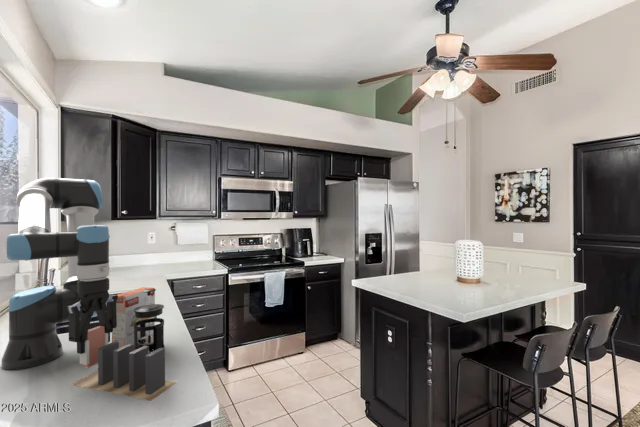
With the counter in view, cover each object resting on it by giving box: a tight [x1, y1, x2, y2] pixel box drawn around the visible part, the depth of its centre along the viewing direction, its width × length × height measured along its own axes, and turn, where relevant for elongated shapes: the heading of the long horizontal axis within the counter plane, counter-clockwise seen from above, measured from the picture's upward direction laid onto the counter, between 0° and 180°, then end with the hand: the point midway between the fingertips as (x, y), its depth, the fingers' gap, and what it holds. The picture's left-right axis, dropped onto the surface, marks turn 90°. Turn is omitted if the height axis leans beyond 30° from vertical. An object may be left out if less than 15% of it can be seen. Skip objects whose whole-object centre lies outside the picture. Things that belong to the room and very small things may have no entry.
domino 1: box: [97, 341, 119, 385], centre depth 89 cm, size 2×5×10 cm, turn 163°
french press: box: [134, 288, 165, 352], centre depth 105 cm, size 12×9×23 cm
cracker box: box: [111, 286, 156, 348], centre depth 112 cm, size 14×6×21 cm, turn 168°
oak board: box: [70, 370, 178, 402], centre depth 88 cm, size 28×9×1 cm, turn 73°
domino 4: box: [145, 347, 166, 395], centre depth 85 cm, size 2×5×10 cm, turn 163°
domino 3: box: [129, 346, 150, 392], centre depth 86 cm, size 2×5×10 cm, turn 163°
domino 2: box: [113, 344, 134, 388], centre depth 88 cm, size 2×5×10 cm, turn 163°
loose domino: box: [83, 325, 105, 369], centre depth 91 cm, size 2×5×10 cm, turn 163°
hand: (94, 359), depth 91 cm, fingers closed on loose domino, 5 cm apart
